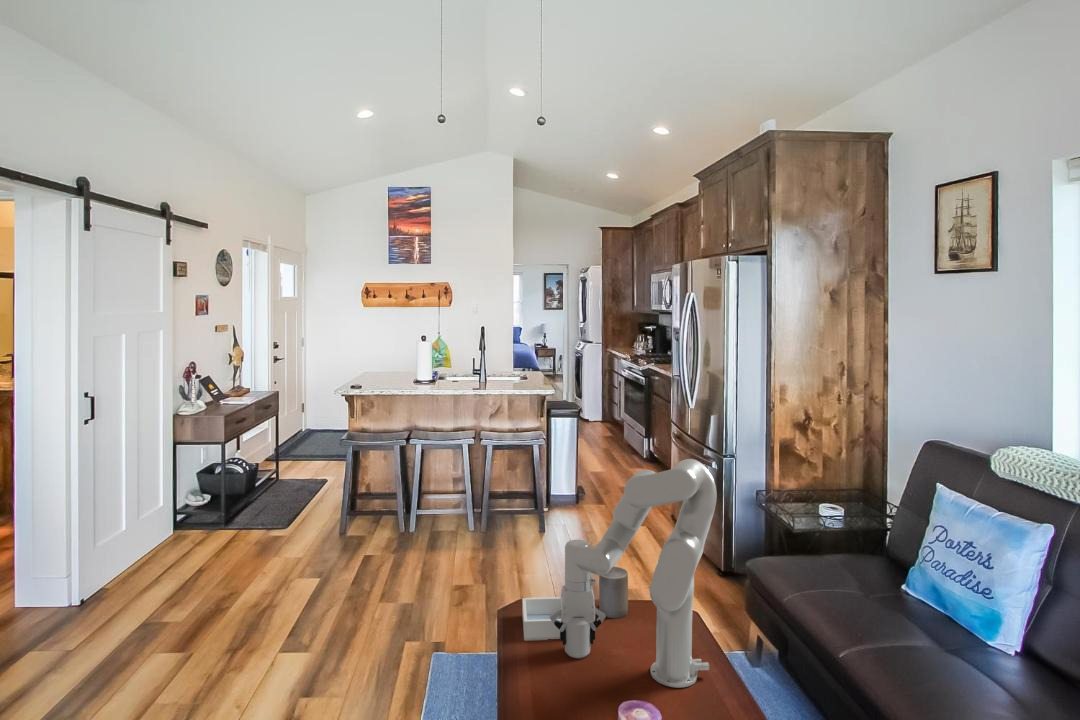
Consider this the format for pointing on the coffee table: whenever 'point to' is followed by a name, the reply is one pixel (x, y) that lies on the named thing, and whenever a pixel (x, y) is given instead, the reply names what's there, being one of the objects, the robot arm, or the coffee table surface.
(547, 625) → the walled box
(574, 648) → the can
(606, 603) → the pillar candle
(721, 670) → the coffee table surface
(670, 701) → the coffee table surface
